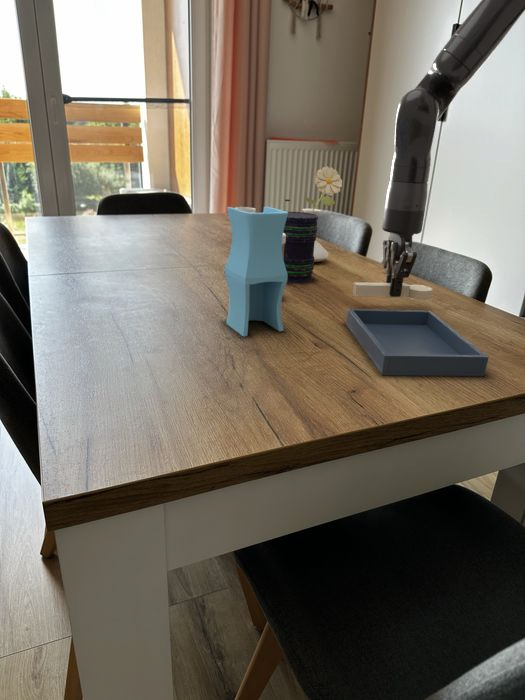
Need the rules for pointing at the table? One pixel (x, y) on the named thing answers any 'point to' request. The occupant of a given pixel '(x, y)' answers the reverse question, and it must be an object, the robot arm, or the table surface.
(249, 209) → the drinking glass
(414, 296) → the cream round-headed paddle
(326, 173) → the flower in vase
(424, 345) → the tray
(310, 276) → the storage jar
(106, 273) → the table surface
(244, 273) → the vase
